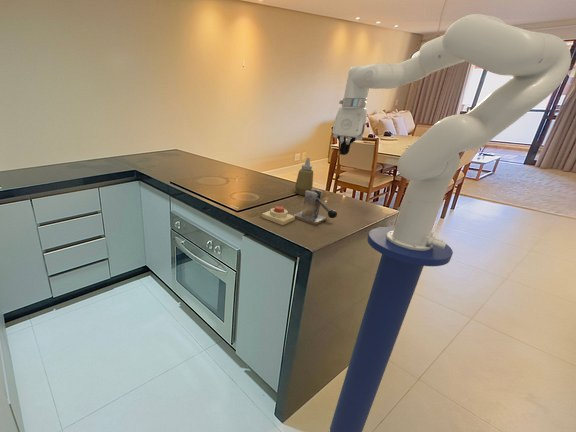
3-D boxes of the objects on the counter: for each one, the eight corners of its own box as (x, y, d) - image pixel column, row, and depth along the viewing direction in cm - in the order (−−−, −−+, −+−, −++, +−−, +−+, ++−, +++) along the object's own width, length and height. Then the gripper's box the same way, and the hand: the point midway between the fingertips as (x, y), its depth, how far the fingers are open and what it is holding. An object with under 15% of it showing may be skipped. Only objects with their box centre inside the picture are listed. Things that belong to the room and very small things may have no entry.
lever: (334, 218, 112) (340, 213, 110) (330, 220, 110) (336, 215, 108) (310, 194, 118) (315, 189, 115) (306, 196, 116) (311, 190, 114)
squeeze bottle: (290, 192, 150) (295, 157, 142) (303, 190, 153) (308, 155, 145) (301, 197, 143) (308, 160, 136) (314, 195, 146) (321, 159, 139)
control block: (294, 220, 118) (295, 212, 116) (282, 225, 113) (283, 217, 112) (273, 212, 125) (274, 204, 123) (261, 217, 120) (262, 209, 119)
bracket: (326, 220, 118) (331, 192, 113) (315, 225, 113) (321, 196, 108) (303, 212, 125) (308, 186, 120) (292, 217, 120) (297, 189, 116)
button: (285, 211, 117) (285, 207, 117) (279, 214, 115) (280, 209, 115) (277, 209, 120) (278, 205, 119) (272, 211, 118) (272, 207, 117)
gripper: (329, 103, 110) (320, 152, 117) (371, 104, 99) (359, 158, 107) (338, 102, 114) (329, 150, 122) (380, 104, 104) (367, 156, 111)
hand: (343, 154), depth 114 cm, fingers closed
